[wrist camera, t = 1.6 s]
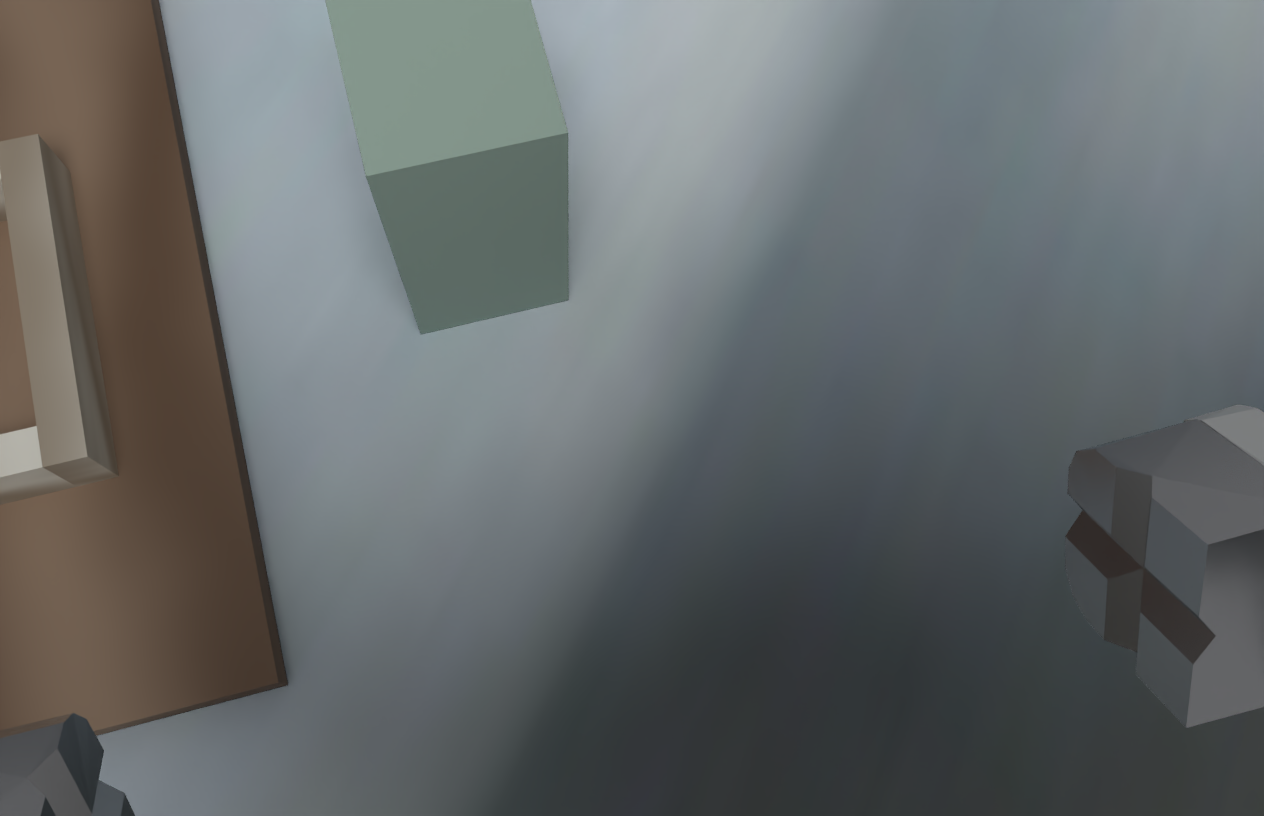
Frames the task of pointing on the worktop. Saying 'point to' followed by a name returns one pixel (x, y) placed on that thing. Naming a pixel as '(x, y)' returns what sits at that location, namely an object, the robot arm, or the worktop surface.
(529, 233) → the green block
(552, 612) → the worktop surface
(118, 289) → the walnut board
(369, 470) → the worktop surface
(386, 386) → the worktop surface
